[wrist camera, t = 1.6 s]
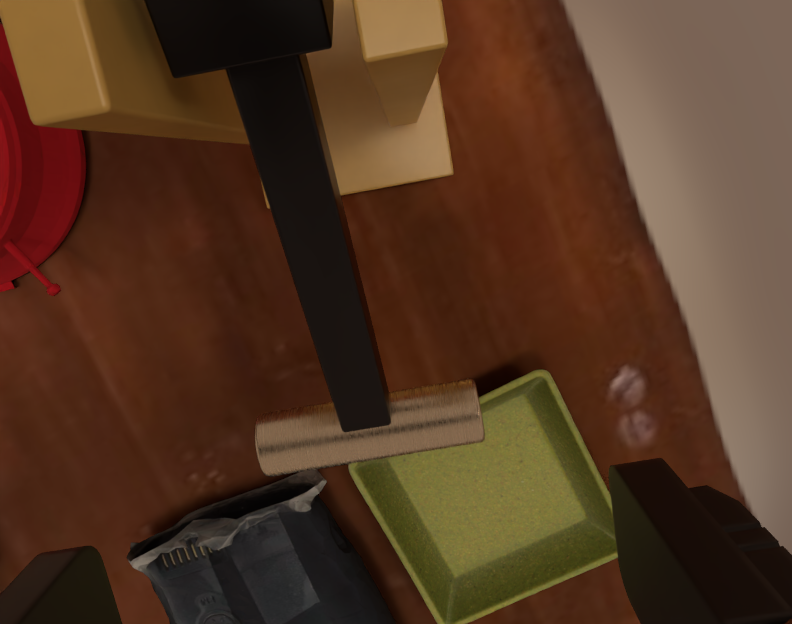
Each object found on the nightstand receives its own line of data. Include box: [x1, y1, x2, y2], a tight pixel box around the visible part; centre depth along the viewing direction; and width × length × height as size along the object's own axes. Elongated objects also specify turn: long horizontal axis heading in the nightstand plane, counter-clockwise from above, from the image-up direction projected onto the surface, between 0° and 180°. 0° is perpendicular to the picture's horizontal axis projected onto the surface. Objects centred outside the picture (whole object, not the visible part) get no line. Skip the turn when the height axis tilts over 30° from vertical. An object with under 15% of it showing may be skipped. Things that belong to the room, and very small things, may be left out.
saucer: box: [348, 369, 618, 624], centre depth 27 cm, size 9×9×2 cm
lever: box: [144, 0, 485, 477], centre depth 12 cm, size 12×5×2 cm, turn 10°
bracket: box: [0, 0, 454, 209], centre depth 16 cm, size 8×7×18 cm
